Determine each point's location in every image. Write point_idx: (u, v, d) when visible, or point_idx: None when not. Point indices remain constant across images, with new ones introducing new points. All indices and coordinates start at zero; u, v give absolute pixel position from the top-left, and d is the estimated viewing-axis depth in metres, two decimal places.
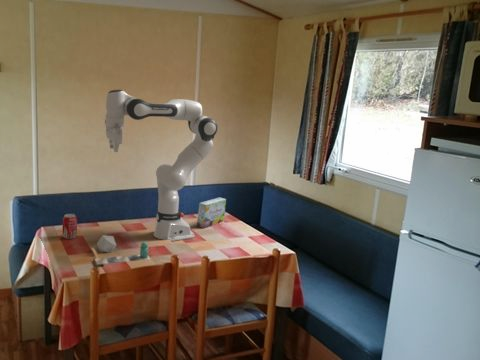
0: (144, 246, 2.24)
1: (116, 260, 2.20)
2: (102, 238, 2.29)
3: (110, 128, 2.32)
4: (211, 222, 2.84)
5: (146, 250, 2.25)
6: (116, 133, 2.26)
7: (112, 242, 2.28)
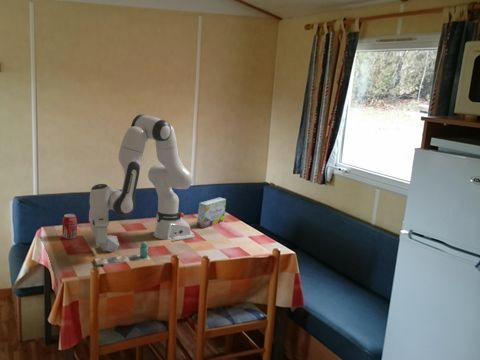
0: (143, 246, 2.24)
1: (116, 260, 2.20)
2: None
3: None
4: (211, 222, 2.84)
5: (146, 250, 2.25)
6: None
7: (115, 242, 2.29)
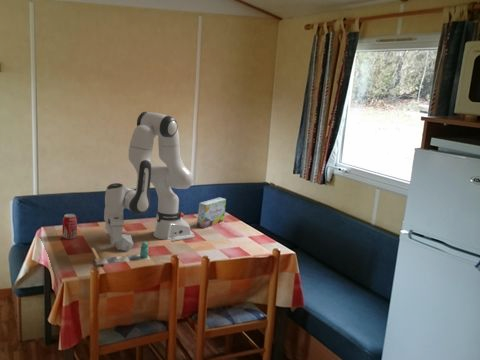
0: (144, 246, 2.24)
1: (116, 260, 2.20)
2: None
3: None
4: (211, 222, 2.84)
5: (146, 250, 2.25)
6: None
7: (130, 241, 2.32)
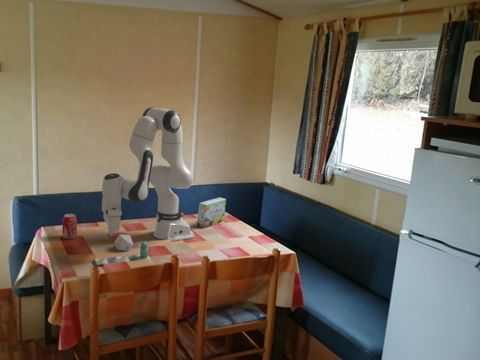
0: (143, 246, 2.24)
1: (116, 260, 2.20)
2: (119, 237, 2.32)
3: None
4: (211, 222, 2.84)
5: (146, 250, 2.25)
6: None
7: (129, 241, 2.32)
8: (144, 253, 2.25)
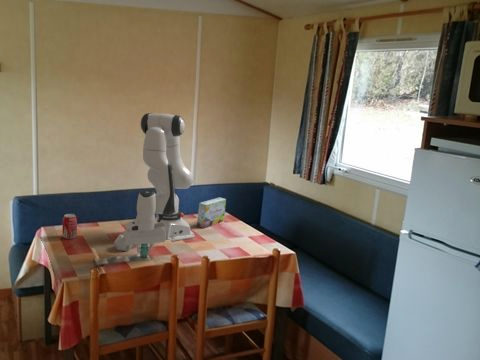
0: (143, 246, 2.24)
1: (116, 260, 2.20)
2: (119, 237, 2.32)
3: (150, 231, 2.23)
4: (211, 222, 2.84)
5: (145, 250, 2.25)
6: (165, 231, 2.28)
7: None
8: (143, 253, 2.25)
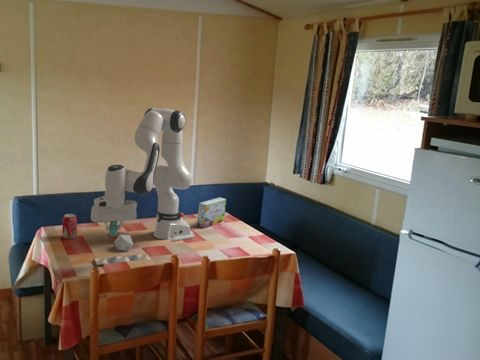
0: (112, 223, 2.15)
1: (116, 260, 2.20)
2: (119, 237, 2.32)
3: (119, 207, 2.13)
4: (211, 222, 2.84)
5: (114, 228, 2.15)
6: (135, 209, 2.18)
7: (129, 241, 2.32)
8: (112, 231, 2.15)
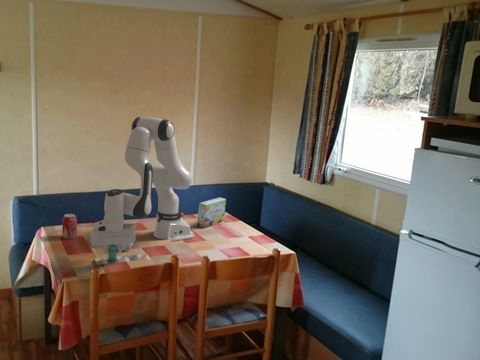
0: (111, 248, 2.17)
1: (116, 260, 2.20)
2: None
3: (118, 231, 2.16)
4: (211, 222, 2.84)
5: (113, 253, 2.18)
6: (134, 232, 2.21)
7: None
8: (111, 256, 2.18)
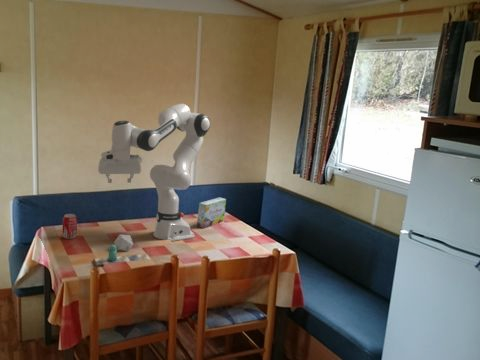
0: (111, 249, 2.17)
1: (116, 260, 2.20)
2: (119, 237, 2.32)
3: (125, 161, 2.26)
4: (211, 222, 2.84)
5: (113, 253, 2.18)
6: (140, 163, 2.31)
7: (129, 241, 2.32)
8: (111, 256, 2.18)
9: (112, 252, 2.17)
